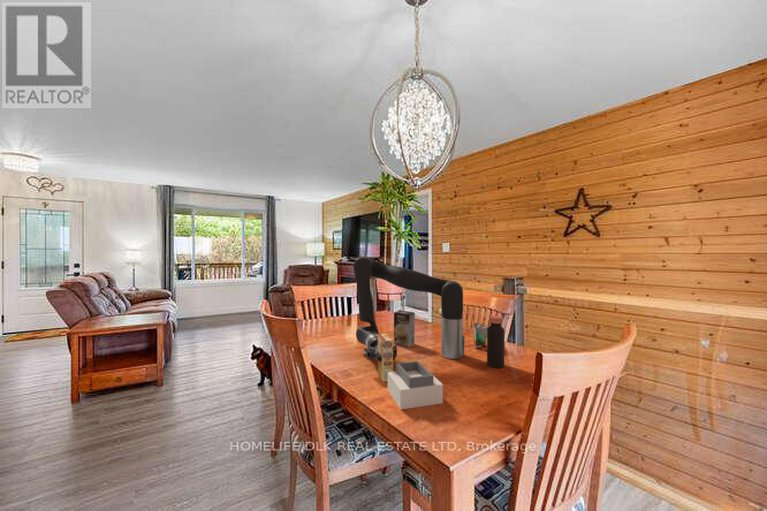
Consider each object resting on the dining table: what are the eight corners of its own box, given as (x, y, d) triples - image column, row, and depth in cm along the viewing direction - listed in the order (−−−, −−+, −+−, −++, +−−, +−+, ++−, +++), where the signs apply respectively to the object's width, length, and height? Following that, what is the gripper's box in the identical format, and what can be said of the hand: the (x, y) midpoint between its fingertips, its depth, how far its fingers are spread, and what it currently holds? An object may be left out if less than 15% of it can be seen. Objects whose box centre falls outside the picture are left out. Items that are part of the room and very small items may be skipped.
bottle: (506, 364, 132) (507, 316, 131) (500, 369, 127) (500, 319, 126) (491, 360, 137) (491, 314, 136) (484, 365, 132) (484, 317, 131)
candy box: (393, 381, 117) (393, 339, 116) (382, 382, 116) (382, 340, 115) (387, 372, 125) (387, 333, 125) (377, 373, 124) (377, 334, 124)
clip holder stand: (425, 384, 114) (425, 359, 114) (442, 403, 101) (442, 375, 100) (387, 389, 110) (387, 363, 110) (400, 409, 97) (400, 380, 96)
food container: (489, 350, 150) (489, 329, 149) (475, 350, 151) (476, 329, 151) (486, 342, 162) (486, 323, 161) (473, 342, 163) (474, 322, 163)
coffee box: (393, 344, 160) (392, 312, 160) (399, 340, 166) (399, 310, 165) (409, 347, 155) (409, 314, 155) (415, 343, 161) (415, 312, 160)
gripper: (359, 337, 132) (368, 350, 115) (392, 334, 136) (405, 346, 119) (359, 355, 132) (368, 370, 116) (392, 351, 136) (405, 366, 120)
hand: (387, 358), depth 118 cm, fingers closed on candy box, 4 cm apart
